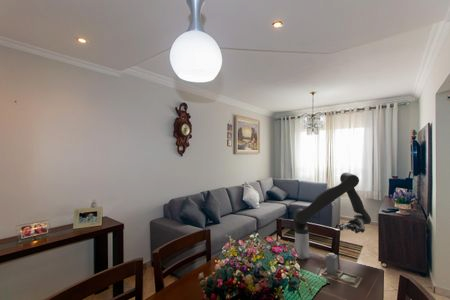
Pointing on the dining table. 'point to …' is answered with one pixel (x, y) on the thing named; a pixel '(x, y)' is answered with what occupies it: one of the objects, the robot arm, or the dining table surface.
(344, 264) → the dining table surface
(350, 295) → the dining table surface
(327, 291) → the dining table surface
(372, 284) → the dining table surface
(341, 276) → the dock
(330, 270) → the plug
